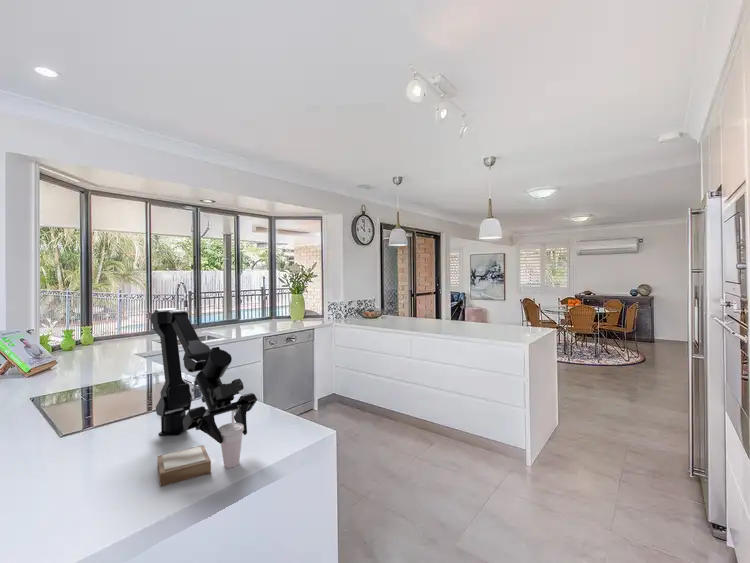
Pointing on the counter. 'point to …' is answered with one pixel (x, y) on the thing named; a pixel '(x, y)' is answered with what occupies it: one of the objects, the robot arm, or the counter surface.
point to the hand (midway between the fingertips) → (234, 438)
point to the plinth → (183, 465)
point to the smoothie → (231, 442)
